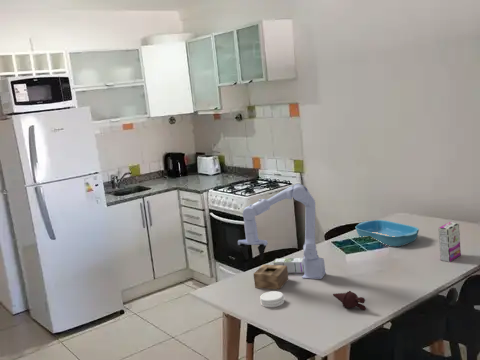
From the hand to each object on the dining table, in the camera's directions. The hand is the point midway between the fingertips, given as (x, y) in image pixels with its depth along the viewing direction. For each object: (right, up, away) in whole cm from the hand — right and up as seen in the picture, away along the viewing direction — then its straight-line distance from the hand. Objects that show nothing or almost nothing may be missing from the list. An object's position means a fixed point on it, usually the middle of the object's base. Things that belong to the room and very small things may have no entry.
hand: (254, 259), depth 245 cm
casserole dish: (+74, +5, +40) cm, 85 cm away
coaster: (+7, -15, -26) cm, 31 cm away
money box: (+8, -11, -5) cm, 14 cm away
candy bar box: (+94, 0, +1) cm, 94 cm away
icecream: (+37, -13, -39) cm, 55 cm away
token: (+8, -10, -5) cm, 14 cm away
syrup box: (+10, -5, +10) cm, 15 cm away
